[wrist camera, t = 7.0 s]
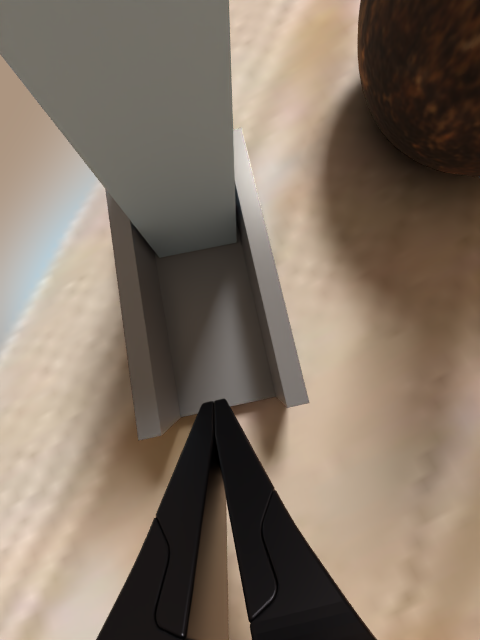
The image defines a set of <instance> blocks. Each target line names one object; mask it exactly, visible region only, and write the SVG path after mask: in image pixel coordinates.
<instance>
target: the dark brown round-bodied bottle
mask: <svg viewBox="0 0 480 640" xmlns="http://www.w3.org/2000/svg"><path fill="white" fill-rule="evenodd" d="M358 63H359V73H360V79H361V84H362V88H363V92H364V95H365V99H366V102H367V105H368V107H369V110H370V112H371V115H372V116H373V118H374V120H375V122H376V123H377V125H378V127H379V128H380V130H381V131H382V132H383V134H384V135H385V136H386V138H387V139H388V140H389V141H390V142H391V143H392V144H393V145H394V146H395V147H397V148H398V149H399V150H400V151H402V152H403V153H404V154H406V155H407V156H408V157H410V158H411V159H413V160H415V161H417V162H418V163H420V164H423V165H425V166H428V167H430V168H433V169H436V170H439V171H442V172H445V173H451V174H458V175H466V176H473V177H475V176H480V0H361V3H360V10H359V20H358Z"/></svg>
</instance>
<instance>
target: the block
mask: <svg viewBox="0 0 480 640" xmlns="http://www.w3.org/2000/svg"><path fill="white" fill-rule="evenodd" d="M0 54H1V56H2V57H3V58H4V59H5V61H6V62H7V63H8V65H9V66H10V67H11V68H12V70H13V71H14V72H15V73H16V75H17V76H18V77H19V79H20V80H21V81H22V82H23V84H24V85H25V86H26V88H27V89H28V90H29V91H30V93H31V94H32V95H33V97H34V98H35V99H36V100H37V102H38V103H39V104H40V105H41V107H42V108H43V109H44V111H45V112H46V113H47V114H48V116H49V117H50V118H51V120H53V122H54V123H55V125H56V126H57V127H58V129H59V130H60V131H61V132H62V133H63V135H64V136H65V137H66V139H67V140H68V141H69V142H70V144H71V145H72V146H73V148H74V149H75V150H76V152H77V153H78V154H79V155H80V157H81V158H82V159H83V160H84V162H85V163H86V164H87V166H88V167H89V168H90V169H91V171H92V172H93V173H94V175H95V176H96V177H97V178H98V180H99V181H100V182H101V183H102V185H103V186H104V187H105V189H106V190H107V191H108V192H109V194H110V195H111V196H112V198H113V199H114V200H115V201H116V203H117V204H118V205H119V207H120V208H121V209H122V210H123V212H124V213H125V214H126V215H127V217H128V218H129V219H130V221H131V222H132V223H133V224H134V226H135V227H136V228H137V230H138V231H139V232H140V233H141V235H142V236H143V237H144V238H145V240H146V241H147V242H148V244H149V245H150V246H151V247H152V249H153V250H154V251H155V253H156V254H157V255H158V256H159V258H161V257H166V256H171V255H176V254H181V253H186V252H192V251H197V250H202V249H207V248H212V247H217V246H222V245H227V244H232V243H237V238H236V207H235V176H234V145H233V114H232V83H231V52H230V21H229V0H0Z"/></svg>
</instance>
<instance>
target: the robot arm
mask: <svg viewBox="0 0 480 640" xmlns="http://www.w3.org/2000/svg"><path fill="white" fill-rule="evenodd" d="M226 500H227V506H228V511H229V516H230V522H231V527H232V533H233V538H234V543H235V549H236V554H237V560H238V565H239V570H240V576H241V581H242V587H243V592H244V598H245V603H246V608H247V614H248V619H249V622H250V623H251V624H250V630H251V635H252V640H377V639H376V638H375V636H374V635H373V634H372V633H371V631H370V630H369V629H368V627H367V626H366V625H365V623H364V622H363V621H362V619H361V618H360V617H359V615H358V614H357V613H356V611H355V610H354V609H353V607H352V606H351V604H350V603H349V602H348V600H347V599H346V597H345V596H344V594H343V593H342V592H341V590H340V589H339V587H338V586H337V584H336V583H335V582H334V580H333V579H332V577H331V576H330V574H329V573H328V571H327V570H326V569H325V567H324V566H323V564H322V563H321V561H320V560H319V559H318V557H317V556H316V554H315V553H314V551H313V550H312V549H311V547H310V546H309V544H308V543H307V541H306V540H305V538H304V537H303V535H302V534H301V532H300V531H299V529H298V528H297V526H296V525H295V523H294V521H293V520H292V518H291V516H290V515H289V513H288V511H287V509H286V508H285V506H284V504H283V502H282V501H281V499H280V497H279V495H278V493H277V491H276V490H275V489H274V486H273V484H272V483H271V481H270V479H269V477H268V475H267V473H266V472H265V470H264V468H263V466H262V464H261V462H260V461H259V459H258V457H257V455H256V453H255V451H254V450H253V448H252V446H251V444H250V442H249V440H248V439H247V437H246V435H245V433H244V431H243V429H242V428H241V426H240V424H239V422H238V420H237V418H236V417H235V415H234V413H233V411H232V409H231V408H230V406H229V404H228V402H227V400H226V399H225V398H223V399H219V400H215V401H209V402H205V403H203V404H202V405H201V407H200V409H199V412H198V414H197V417H196V419H195V421H194V424H193V426H192V429H191V431H190V434H189V436H188V438H187V441H186V443H185V446H184V448H183V450H182V453H181V455H180V458H179V460H178V462H177V465H176V467H175V470H174V472H173V474H172V477H171V479H170V482H169V484H168V486H167V489H166V491H165V494H164V496H163V499H162V501H161V503H160V506H159V508H158V511H157V513H156V517H157V518H154V520H153V522H152V525H151V527H150V530H149V532H148V534H147V537H146V539H145V541H144V543H143V546H142V548H141V550H140V553H139V555H138V557H137V559H136V561H135V563H134V566H133V568H132V570H131V572H130V574H129V576H128V578H127V580H126V582H125V584H124V586H123V588H122V590H121V592H120V594H119V596H118V598H117V600H116V602H115V604H114V606H113V608H112V610H111V612H110V614H109V615H108V617H107V619H106V621H105V623H104V625H103V627H102V629H101V631H100V633H99V635H98V637H97V639H96V640H229V635H228V580H227V524H226Z"/></svg>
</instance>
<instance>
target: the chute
mask: <svg viewBox="0 0 480 640" xmlns="http://www.w3.org/2000/svg"><path fill="white" fill-rule="evenodd" d="M233 145H234V176H235V207H236V238H237V243H232V244H227V245H222V246H217V247H212V248H207V249H202V250H197V251H192V252H186V253H181V254H176V255H171V256H166V257H161V258H159V256H158V255H157V254H156V253H155V251H154V250H153V249H152V247H151V246H150V245H149V244H148V242H147V241H146V240H145V238H144V237H143V236H142V235H141V233H140V232H139V231H138V230H137V228H136V227H135V226H134V224H133V223H132V222H131V221H130V219H129V218H128V217H127V215H126V214H125V213H124V212H123V210H122V209H121V208H120V207H119V205H118V204H117V203H116V201H115V200H114V199H113V198H112V196H111V195H110V194H109V192H108V191H107V190H106V189H105V190H106V197H107V205H108V212H109V220H110V228H111V235H112V243H113V250H114V258H115V266H116V273H117V281H118V288H119V296H120V304H121V311H122V319H123V327H124V334H125V342H126V349H127V357H128V365H129V372H130V380H131V387H132V395H133V403H134V410H135V418H136V425H137V433H138V441H139V440H143V439H148V438H152V437H157V436H161V435H162V434H164V433H165V432H166V431H167V430H168V429H169V428H170V427H171V426H172V425H173V424H174V423H175V422H176V421H177V420H178V419H180V418H181V417H184V416H189V415H193V414H198V412H199V409H200V407H201V405H202V404H203V403H205V402H209V401H215V400H219V399H223V398H225V399H226V400H227V402H228V404H229V406H235V405H239V404H244V403H248V402H253V401H258V400H262V399H267V398H271V397H277V398H278V399H279V400H280V401H281V402H282V403H283V404H284V405H285V406H286V407H287V408H289V407H293V406H298V405H302V404H307V403H309V400H308V395H307V391H306V387H305V383H304V379H303V375H302V371H301V367H300V363H299V359H298V355H297V351H296V347H295V343H294V339H293V335H292V330H291V326H290V322H289V318H288V314H287V310H286V306H285V302H284V298H283V294H282V290H281V286H280V282H279V278H278V274H277V270H276V266H275V261H274V257H273V253H272V249H271V245H270V241H269V237H268V233H267V229H266V225H265V221H264V217H263V213H262V209H261V205H260V201H259V196H258V192H257V188H256V184H255V180H254V176H253V172H252V168H251V164H250V160H249V156H248V152H247V148H246V144H245V140H244V136H243V131H242V128H238V129H233Z"/></svg>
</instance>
